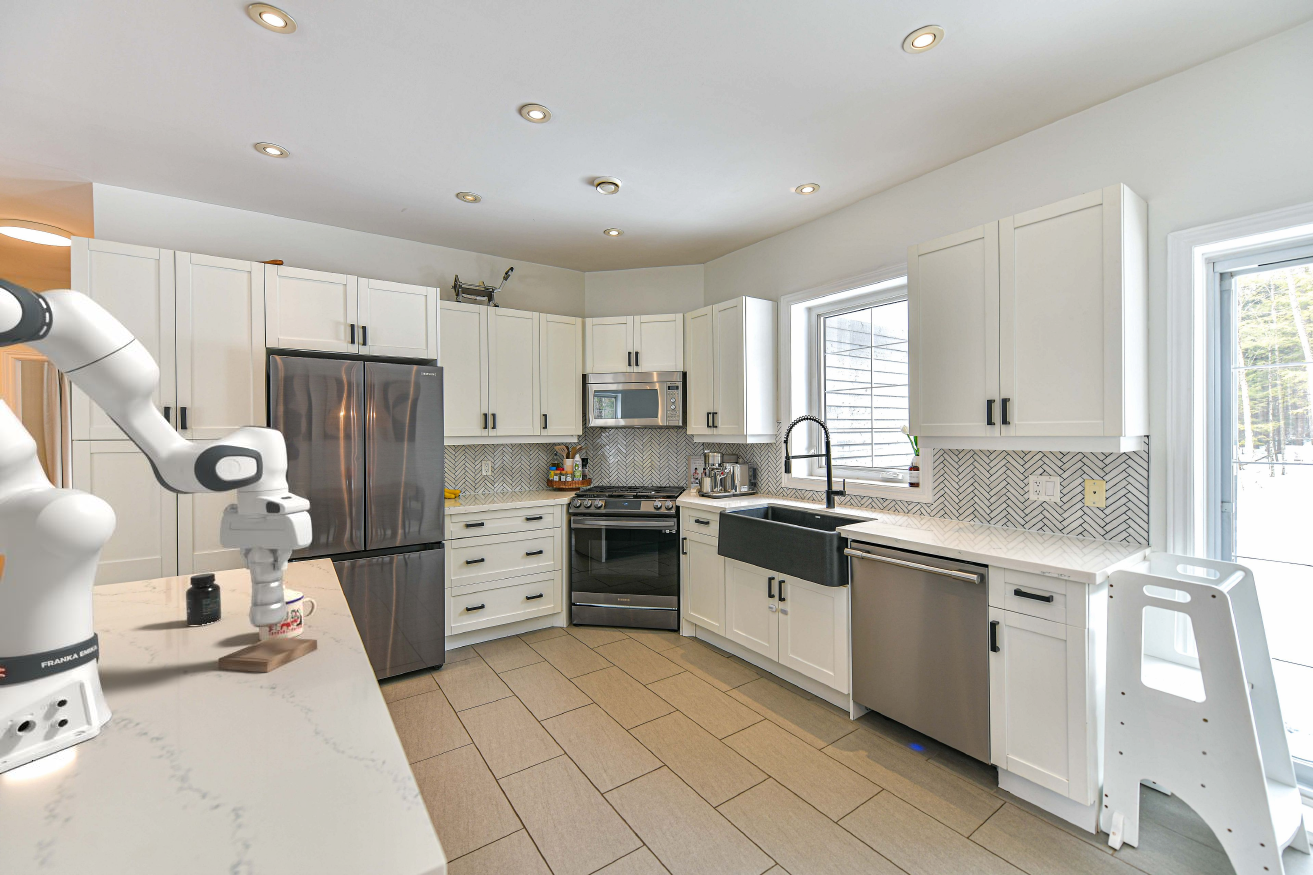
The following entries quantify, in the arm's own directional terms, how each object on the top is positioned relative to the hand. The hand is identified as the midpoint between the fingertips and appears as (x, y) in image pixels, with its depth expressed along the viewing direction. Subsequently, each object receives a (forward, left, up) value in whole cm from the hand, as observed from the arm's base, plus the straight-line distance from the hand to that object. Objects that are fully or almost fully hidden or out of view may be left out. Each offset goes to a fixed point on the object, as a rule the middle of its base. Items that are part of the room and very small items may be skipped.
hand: (266, 569), depth 117 cm
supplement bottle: (+17, +39, -19) cm, 46 cm away
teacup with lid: (+13, +9, -19) cm, 25 cm away
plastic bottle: (0, 0, -12) cm, 12 cm away
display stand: (0, 0, -19) cm, 19 cm away
